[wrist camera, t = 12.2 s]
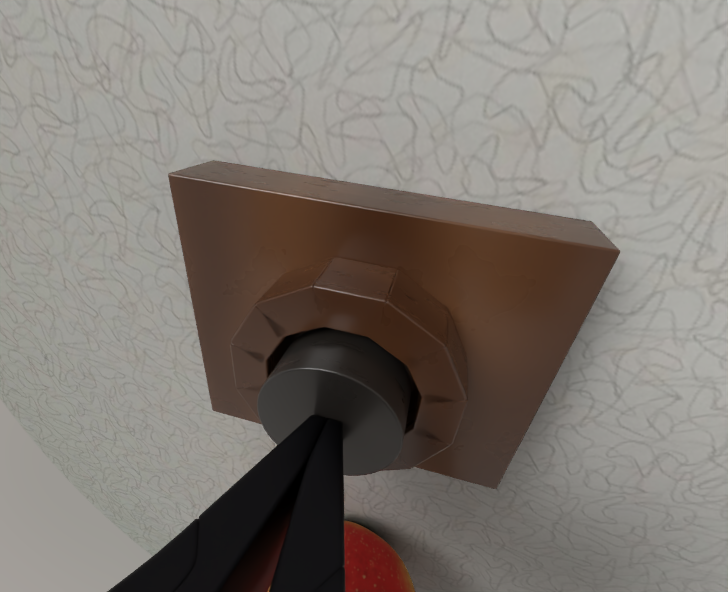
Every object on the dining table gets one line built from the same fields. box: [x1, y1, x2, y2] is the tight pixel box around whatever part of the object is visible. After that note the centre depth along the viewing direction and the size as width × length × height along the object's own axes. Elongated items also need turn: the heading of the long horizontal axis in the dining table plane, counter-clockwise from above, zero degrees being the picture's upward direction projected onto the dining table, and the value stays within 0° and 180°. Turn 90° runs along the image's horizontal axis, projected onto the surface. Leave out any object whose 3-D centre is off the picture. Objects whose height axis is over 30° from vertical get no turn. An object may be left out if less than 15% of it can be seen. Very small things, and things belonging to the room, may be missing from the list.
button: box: [257, 328, 411, 476], centre depth 10 cm, size 4×4×2 cm
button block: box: [168, 161, 620, 489], centre depth 12 cm, size 12×10×4 cm
